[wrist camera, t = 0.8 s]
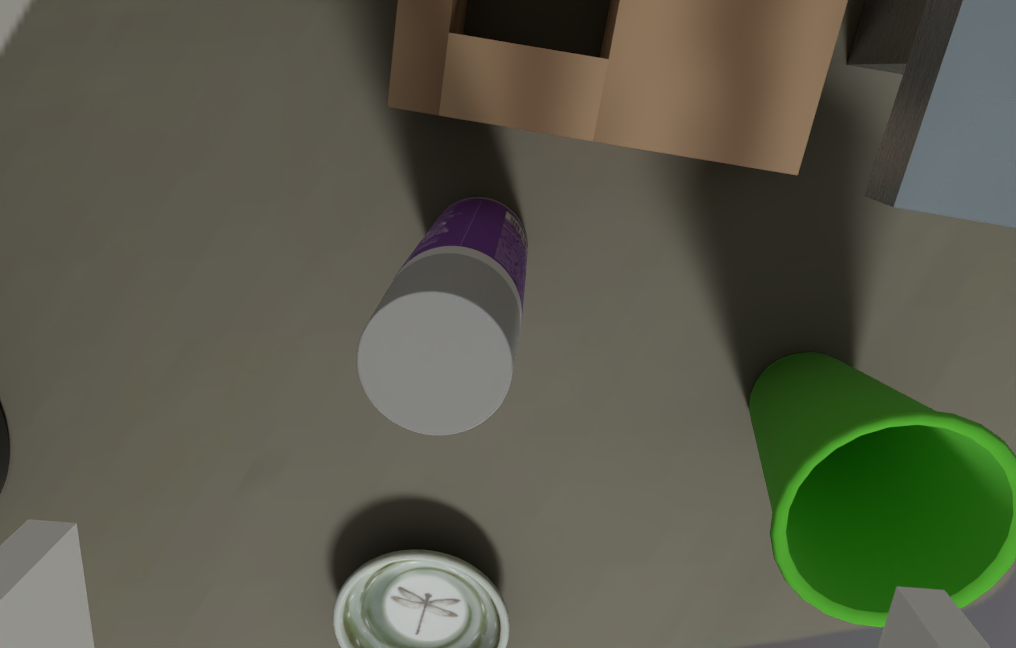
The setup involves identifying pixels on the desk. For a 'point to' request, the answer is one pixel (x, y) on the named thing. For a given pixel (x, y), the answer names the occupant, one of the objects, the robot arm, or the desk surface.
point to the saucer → (420, 604)
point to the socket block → (635, 77)
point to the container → (449, 322)
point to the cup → (878, 490)
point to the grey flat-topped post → (945, 105)
